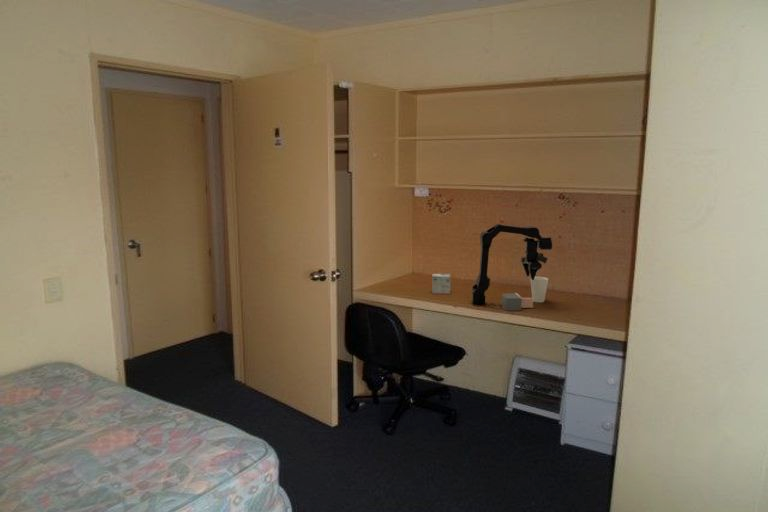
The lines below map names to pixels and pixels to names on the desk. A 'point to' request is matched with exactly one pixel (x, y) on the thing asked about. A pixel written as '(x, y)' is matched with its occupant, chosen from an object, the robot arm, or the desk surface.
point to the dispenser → (511, 302)
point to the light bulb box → (441, 283)
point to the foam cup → (539, 288)
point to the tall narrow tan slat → (526, 302)
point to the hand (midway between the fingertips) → (530, 277)
